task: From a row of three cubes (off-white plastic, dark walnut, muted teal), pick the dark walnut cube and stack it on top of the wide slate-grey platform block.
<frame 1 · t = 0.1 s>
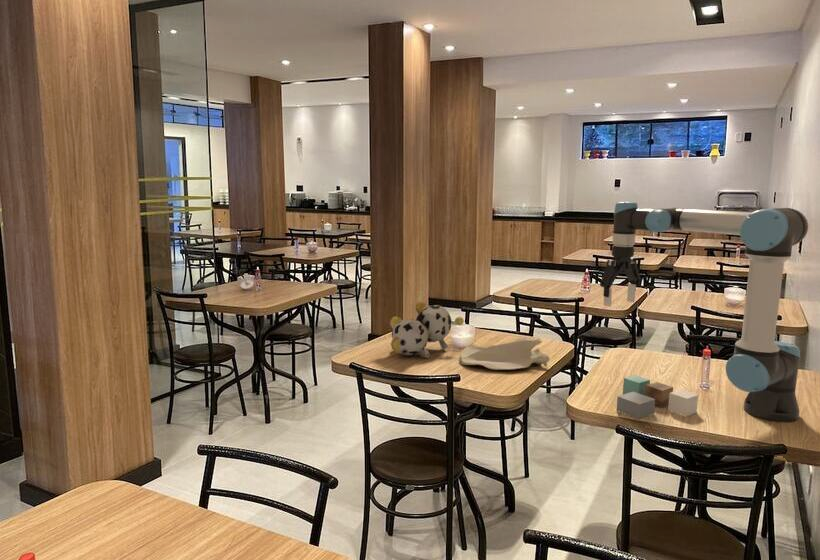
hand: (619, 303, 219), 28 cm above the table, fingers open, 13 cm apart
teal cube: (635, 395, 206), on the table
platform block: (635, 412, 191), on the table
walnut cube: (658, 403, 199), on the table
phone stand: (640, 387, 215), on the table
white cube: (682, 411, 192), on the table
beige wavy platter: (500, 365, 238), on the table
toy: (420, 352, 253), on the table
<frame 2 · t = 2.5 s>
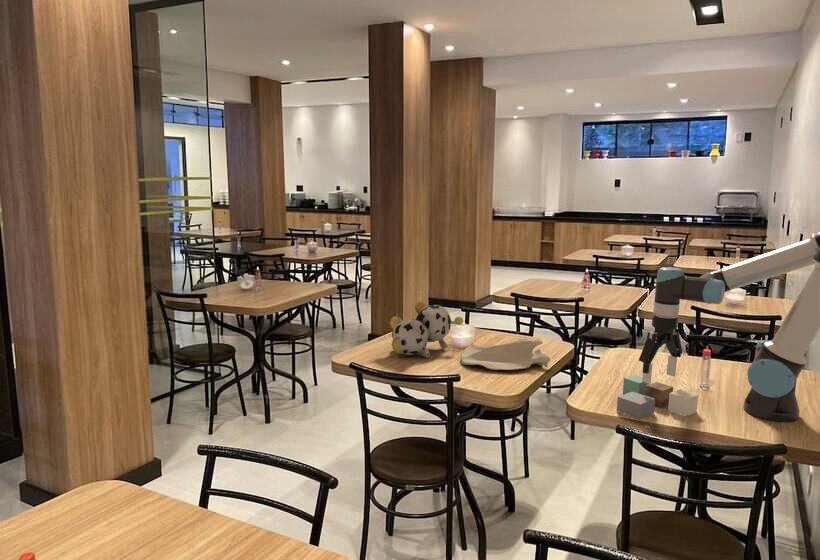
hand: (658, 378, 197), 8 cm above the table, fingers open, 13 cm apart
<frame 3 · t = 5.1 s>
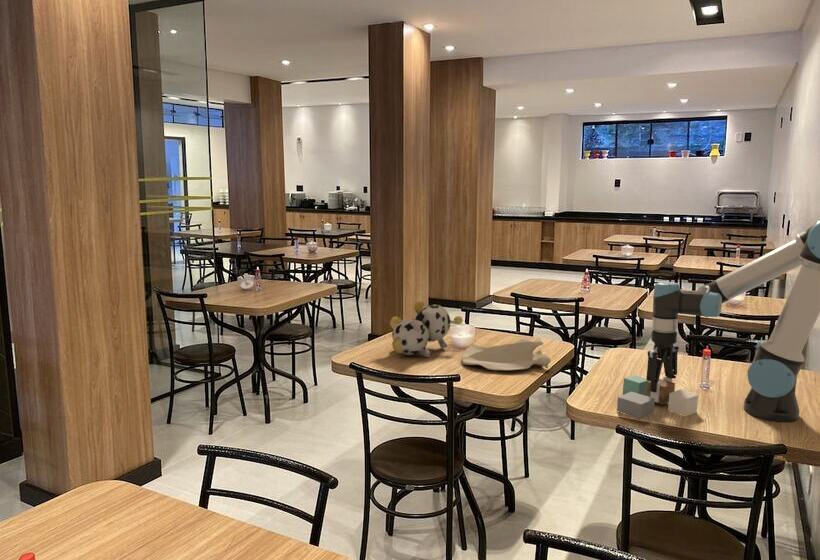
hand: (660, 398, 198), 2 cm above the table, fingers closed on walnut cube, 6 cm apart
walnut cube: (660, 400, 198), point 1 cm above the table, touching gripper
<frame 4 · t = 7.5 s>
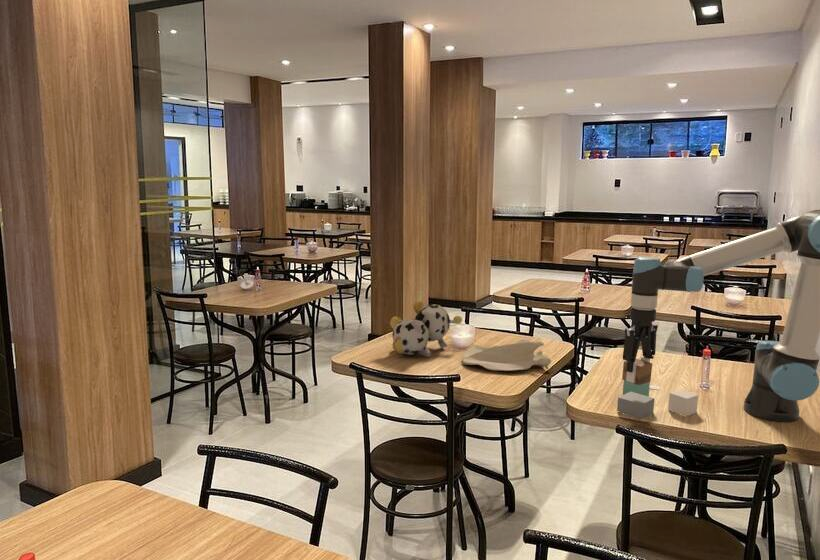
hand: (637, 379, 189), 11 cm above the table, fingers closed on walnut cube, 6 cm apart
walnut cube: (636, 380, 189), point 10 cm above the table, touching gripper
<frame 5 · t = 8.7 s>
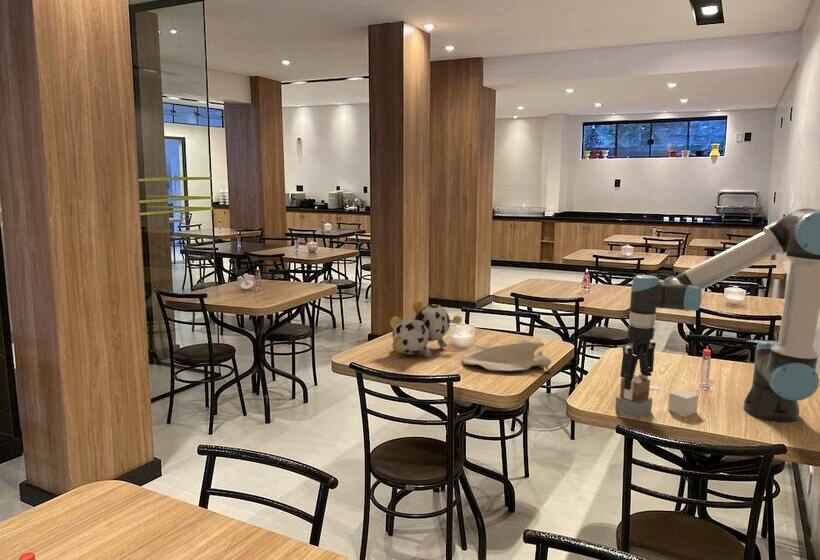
hand: (634, 396, 190), 5 cm above the table, fingers closed on walnut cube, 6 cm apart
platform block: (633, 412, 191), on the table, touching gripper
walnut cube: (634, 397, 190), point 5 cm above the table, touching gripper
when the fingers open (5 cm above the table, at t = 9.5 s): walnut cube stays where it is, resting on platform block.
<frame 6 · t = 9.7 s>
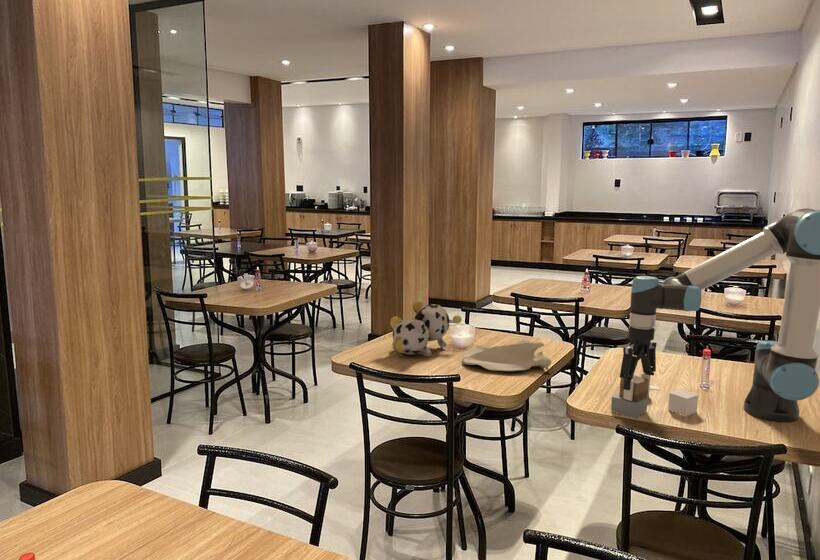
hand: (636, 396, 190), 5 cm above the table, fingers open, 8 cm apart
platform block: (628, 411, 192), on the table, touching walnut cube
walnut cube: (633, 397, 191), point 5 cm above the table, touching platform block
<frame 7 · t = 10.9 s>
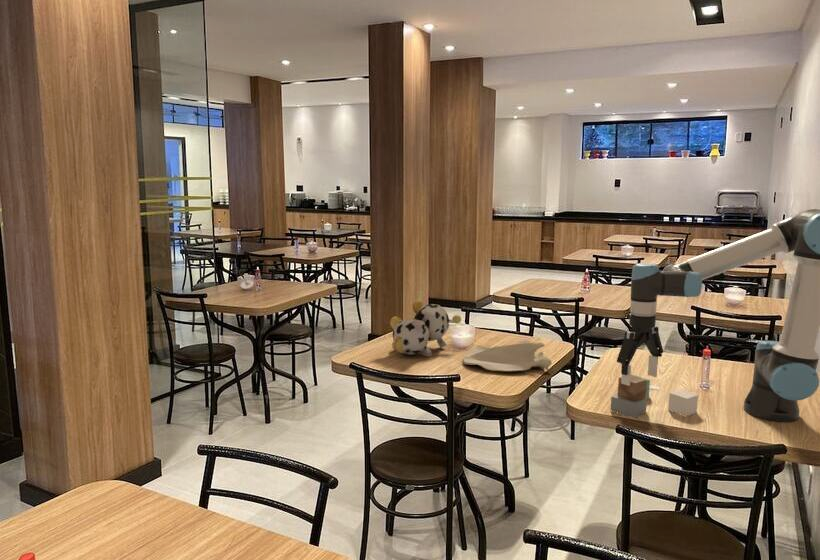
hand: (639, 380, 189), 11 cm above the table, fingers open, 13 cm apart
platform block: (628, 411, 192), on the table
walnut cube: (631, 396, 191), point 5 cm above the table
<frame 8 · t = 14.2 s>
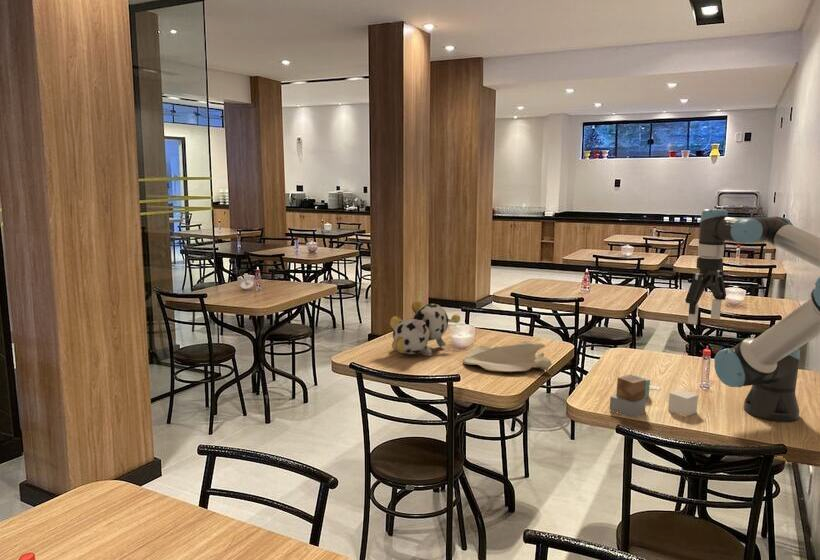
hand: (703, 321, 199), 27 cm above the table, fingers open, 13 cm apart
at the end: walnut cube 0.8 cm off-centre on the platform block, point 5.0 cm above the platform block's base; walnut cube tilted 0°; the gripper is holding nothing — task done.
